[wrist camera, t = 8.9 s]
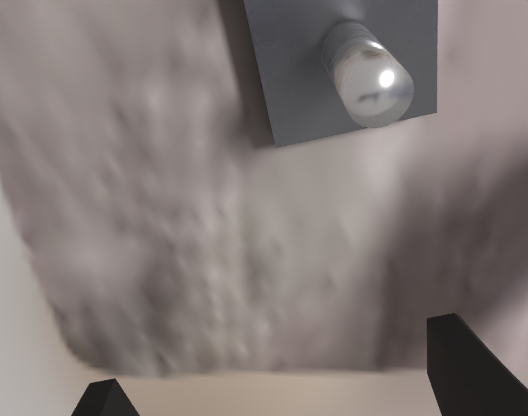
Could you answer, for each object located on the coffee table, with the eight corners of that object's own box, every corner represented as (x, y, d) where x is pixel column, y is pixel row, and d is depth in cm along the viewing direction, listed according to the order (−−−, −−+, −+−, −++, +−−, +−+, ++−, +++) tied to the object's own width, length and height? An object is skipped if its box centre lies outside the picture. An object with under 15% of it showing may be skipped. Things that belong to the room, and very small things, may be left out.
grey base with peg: (426, -78, 15) (505, -59, 11) (427, 102, 18) (486, 168, 14) (236, -32, 15) (242, 3, 11) (273, 135, 18) (287, 209, 14)
